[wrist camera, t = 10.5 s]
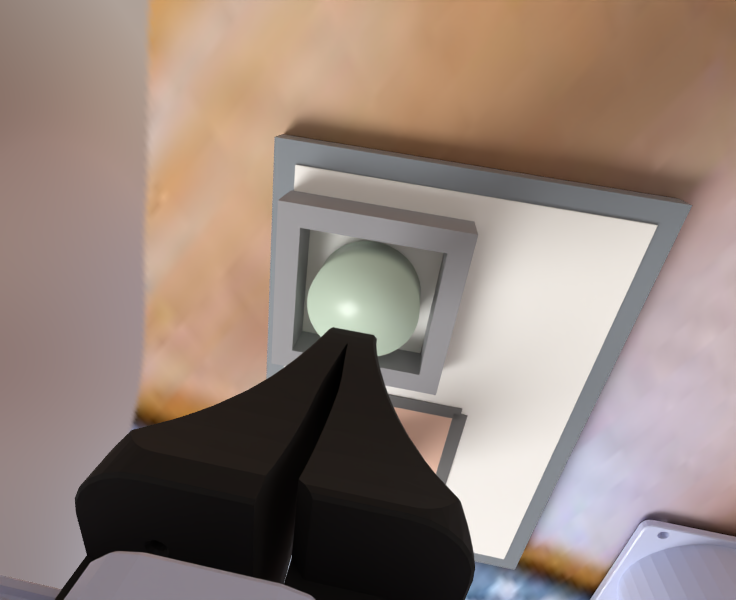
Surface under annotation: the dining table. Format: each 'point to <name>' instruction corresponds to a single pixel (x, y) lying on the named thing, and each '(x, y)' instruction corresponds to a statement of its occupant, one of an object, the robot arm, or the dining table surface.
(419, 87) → the dining table surface
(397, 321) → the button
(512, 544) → the board
